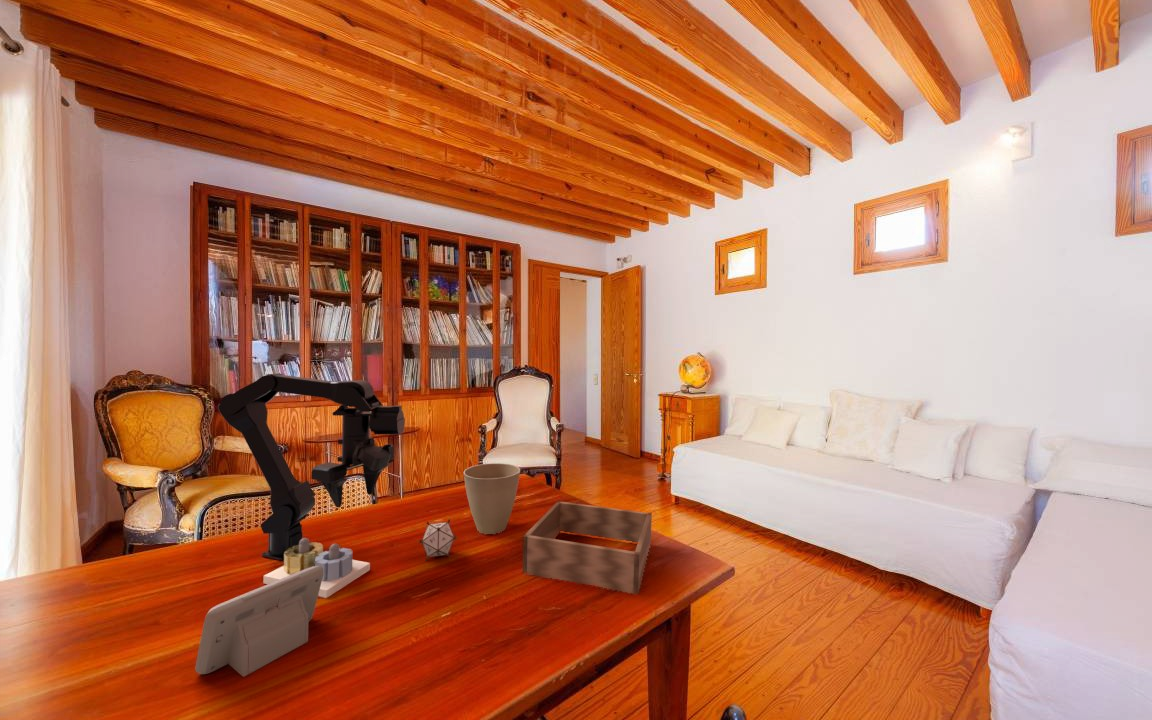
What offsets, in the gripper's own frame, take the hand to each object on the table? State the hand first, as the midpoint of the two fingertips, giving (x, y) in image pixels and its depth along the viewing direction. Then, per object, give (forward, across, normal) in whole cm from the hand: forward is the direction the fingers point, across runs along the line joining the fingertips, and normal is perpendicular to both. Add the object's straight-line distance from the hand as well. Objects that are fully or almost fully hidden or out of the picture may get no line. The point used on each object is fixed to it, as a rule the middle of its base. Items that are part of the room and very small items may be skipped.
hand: (354, 500), depth 98 cm
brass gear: (+10, -11, +2) cm, 15 cm away
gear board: (+12, -11, -2) cm, 17 cm away
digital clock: (+12, -30, -13) cm, 35 cm away
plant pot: (+12, +22, -24) cm, 35 cm away
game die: (+12, +5, -20) cm, 24 cm away
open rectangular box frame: (+14, +16, -54) cm, 58 cm away
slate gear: (+10, -11, -6) cm, 16 cm away
